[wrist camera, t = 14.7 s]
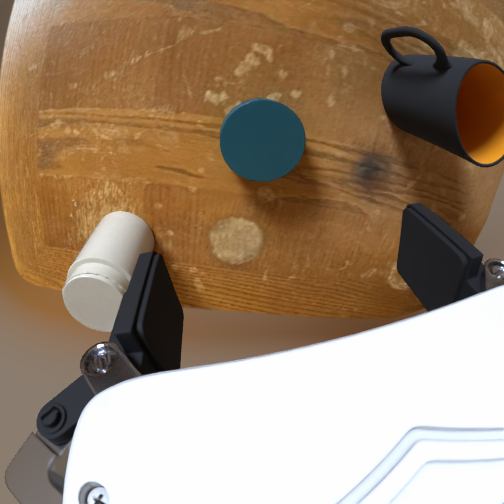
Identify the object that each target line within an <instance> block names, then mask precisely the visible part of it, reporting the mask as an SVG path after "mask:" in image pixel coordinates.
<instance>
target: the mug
mask: <svg viewBox="0 0 504 504" xmlns="http://www.w3.org/2000/svg"><path fill="white" fill-rule="evenodd" d="M405 36H411V37H415V38H417V39H420V40H421V41H423V42H425V43H426V44H428V45H429V46H430V47H431V48H432V49H433V50H434V52H435V54H436V55H405V56H402V55H400V54H399V53H398V52H397V51H396V50H395V49H394V48H393V46H392V45H391V43H390V39H391V38H395V37H405ZM381 42H382V44H383V46H384V48H385V49H386V50H387V52H388V53H389V54H390V55H391V56H392V57H393V58H394V59H395V60H394V61H393V62H392V63H391V64H390V65H389V67H388V68H387V70H386V72H385V74H384V77H383V80H382V87H381V94H382V101H383V105H384V108H385V110H386V112H387V114H388V116H389V118H390V119H391V120H392V122H393V123H394V124H395V125H396V126H397V127H399V128H400V129H401V130H403V131H405V132H407V133H410V134H412V135H414V136H417V137H419V138H421V139H424V140H426V141H428V142H430V143H432V144H435V145H437V146H439V147H441V148H443V149H445V150H447V151H449V152H451V153H454V154H456V155H458V156H460V157H461V158H463V159H465V160H467V161H469V162H471V163H473V164H475V165H477V166H480V167H491V166H494V165H496V164H498V163H499V162H501V161H502V160H503V159H504V71H503V70H502V69H501V68H500V67H499V66H498V65H497V64H495V63H493V62H491V61H488V60H481V59H474V58H464V57H453V56H446V54H445V52H444V50H443V48H442V46H441V45H440V44H439V43H438V42H437V41H436V40H435V39H434V38H433V37H432V36H430V35H429V34H427V33H425V32H424V31H422V30H419V29H417V28H413V27H407V26H405V27H397V28H391V29H387V30H385V31H383V32H382V34H381Z"/></svg>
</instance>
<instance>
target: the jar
mask: <svg viewBox="0 0 504 504" xmlns="http://www.w3.org/2000/svg"><path fill="white" fill-rule="evenodd" d="M153 250H154V236H153V233H152V231H151V229H150V227H149V226H148V225H147V223H146V222H145V221H144V220H142V219H141V218H140V217H138V216H136V215H134V214H132V213H129V212H113V213H110V214H108V215H106V216H105V217H103V218H102V219H101V220H100V222H99V223H98V225H97V226H96V228H95V229H94V231H93V232H92V234H91V235H90V237H89V238H88V240H87V241H86V243H85V244H84V246H83V247H82V249H81V251H80V252H79V254H78V255H77V257H76V259H75V260H74V262H73V264H72V265H71V267H70V269H69V271H68V273H67V281H66V282H65V285H64V287H63V289H62V296H63V299H64V303H65V306H66V308H67V309H68V311H69V312H70V314H71V315H72V316H73V317H74V318H75V319H76V320H77V321H79V322H80V323H81V324H83V325H85V326H87V327H89V328H91V329H94V330H98V331H107V332H108V331H112V329H113V326H114V322H115V319H116V316H117V313H118V309H119V306H120V303H121V300H122V297H123V295H124V293H125V292H127V289H128V286H129V283H130V280H131V277H132V274H133V271H134V268H135V266H136V263H137V260H138V257H139V255H140V254H142V253H147V252H151V251H153Z"/></svg>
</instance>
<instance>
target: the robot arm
mask: <svg viewBox="0 0 504 504" xmlns="http://www.w3.org/2000/svg"><path fill="white" fill-rule="evenodd" d="M482 258H483V254H482V253H481V252H480V251H479V250H478V249H476V248H475V247H474V246H473V245H472V244H471V243H470V242H469V241H467V240H466V239H465V238H464V237H463V236H462V235H460V234H459V233H458V232H457V231H456V230H455V229H453V228H452V227H451V226H450V225H449V224H447V223H446V222H445V221H444V220H442V219H441V218H440V217H439V216H437V215H436V214H435V213H433V212H432V211H431V210H430V209H428V208H427V207H426V206H424V205H423V204H422V203H415V204H409V205H407V207H406V209H404V210H403V216H402V227H401V236H400V244H399V252H398V259H397V270H398V273H399V274H400V275H401V277H402V278H403V279H404V281H405V282H406V283H407V284H408V286H409V287H410V288H411V290H412V291H413V292H414V294H415V295H416V296H417V298H418V299H419V300H420V302H421V303H422V304H423V306H424V307H425V308H426V310H427V311H428V312H426V313H423V314H420V315H417V316H414V317H411V318H407V319H404V320H401V321H398V322H395V323H391V324H388V325H385V326H381V327H378V328H375V329H371V330H367V331H364V332H360V333H356V334H353V335H349V336H345V337H341V338H337V339H334V340H329V341H325V342H321V343H317V344H313V345H309V346H304V347H300V348H295V349H291V350H286V351H281V352H276V353H271V354H266V355H261V356H256V357H250V358H245V359H239V360H233V361H227V362H221V363H215V364H208V365H201V366H195V367H189V368H183V369H180V362H181V345H182V332H183V319H184V316H183V309H182V307H181V304H180V302H179V299H178V296H177V294H176V291H175V289H174V286H173V283H172V281H171V278H170V275H169V273H168V270H167V267H166V265H165V262H164V259H163V256H162V255H161V254H157V253H156V252H155V251H151V252H147V253H142V254H140V255H139V257H138V260H137V263H136V266H135V268H134V271H133V274H132V277H131V280H130V283H129V286H128V289H127V292H125V293H124V295H123V297H122V300H121V303H120V306H119V309H118V313H117V316H116V319H115V322H114V326H113V329H112V333H111V336H110V339H109V342H101V343H97V344H95V345H94V346H92V347H90V348H89V349H88V350H87V351H86V353H85V354H84V355H83V356H82V359H81V362H80V369H81V372H82V374H83V375H82V376H80V377H79V378H78V379H77V380H75V381H74V382H73V383H72V384H71V385H69V386H68V387H67V388H66V389H64V390H63V391H62V392H61V393H60V394H58V395H57V396H56V397H54V398H53V399H52V400H51V401H50V402H48V403H47V404H46V405H45V406H44V407H43V408H42V409H41V411H40V412H39V414H38V418H37V428H38V431H37V433H36V434H34V433H33V432H32V433H31V434H30V436H29V437H28V438H27V440H26V441H25V443H24V444H23V445H22V447H21V448H20V450H19V451H18V453H17V454H16V455H15V457H14V458H13V460H12V461H11V463H10V464H9V466H8V468H7V470H6V472H5V482H6V485H7V487H8V489H9V490H10V492H11V493H12V494H13V495H14V497H15V498H16V499H17V500H18V501H19V503H20V504H504V261H503V260H500V259H495V258H494V259H489V260H487V261H486V262H485V264H484V265H483V264H482V263H481V261H482Z"/></svg>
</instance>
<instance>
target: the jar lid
mask: <svg viewBox="0 0 504 504" xmlns="http://www.w3.org/2000/svg"><path fill="white" fill-rule="evenodd" d="M220 147H221V152H222V155H223V158H224V160H225V162H226V163H227V165H228V166H229V167H230V168H231V169H232V170H233V171H234V172H235V173H236V174H238V175H239V176H241V177H243V178H246V179H248V180H252V181H259V182H264V181H272V180H275V179H278V178H280V177H282V176H284V175H286V174H287V173H289V172H290V171H291V170H292V169H293V168H294V167H295V166H296V165H297V164H298V162H299V161H300V159H301V157H302V155H303V152H304V148H305V132H304V128H303V125H302V123H301V121H300V119H299V118H298V116H297V115H296V114H295V113H294V112H293V111H292V110H291V109H290V108H288V107H287V106H285V105H283V104H281V103H279V102H276V101H273V100H270V99H263V98H257V99H251V100H247V101H245V102H242V103H241V104H239V105H237V106H236V107H235V108H233V109H232V110H231V111H230V112H229V113H228V115H227V116H226V118H225V119H224V121H223V124H222V126H221V130H220Z"/></svg>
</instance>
